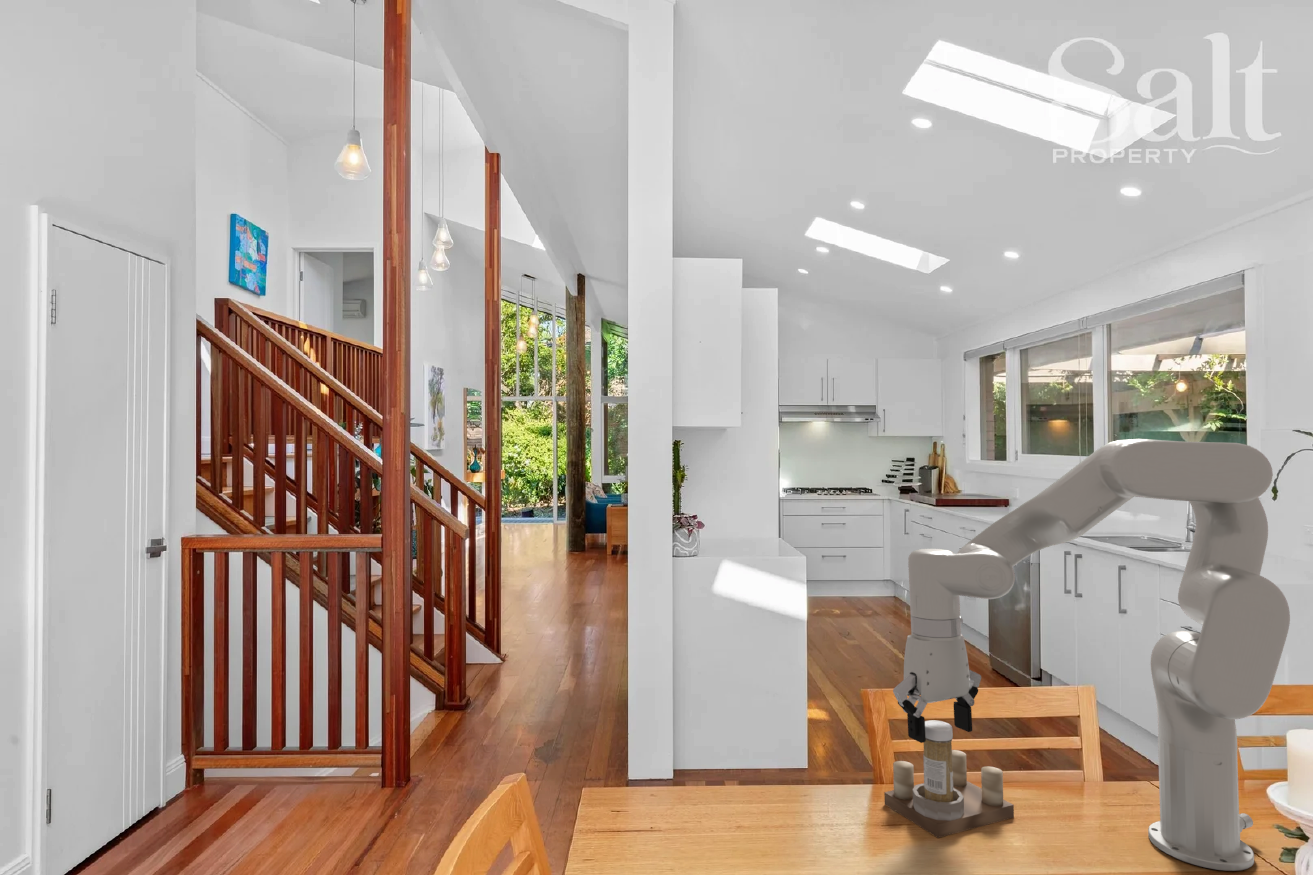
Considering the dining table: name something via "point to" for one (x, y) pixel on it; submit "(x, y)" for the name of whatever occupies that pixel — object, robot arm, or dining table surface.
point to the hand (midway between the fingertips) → (940, 734)
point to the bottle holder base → (950, 817)
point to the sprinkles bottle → (938, 761)
